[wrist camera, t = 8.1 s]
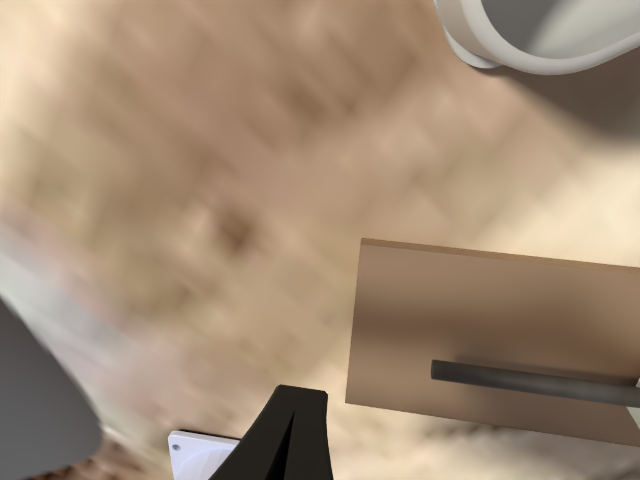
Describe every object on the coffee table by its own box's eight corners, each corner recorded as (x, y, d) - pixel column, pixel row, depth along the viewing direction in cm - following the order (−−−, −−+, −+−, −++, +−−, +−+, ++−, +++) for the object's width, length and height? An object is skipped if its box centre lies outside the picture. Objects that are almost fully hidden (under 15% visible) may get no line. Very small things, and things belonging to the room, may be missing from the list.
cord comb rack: (772, 456, 21) (922, 628, 15) (346, 394, 23) (329, 521, 17) (891, 294, 17) (1162, 442, 11) (361, 238, 19) (347, 334, 13)
